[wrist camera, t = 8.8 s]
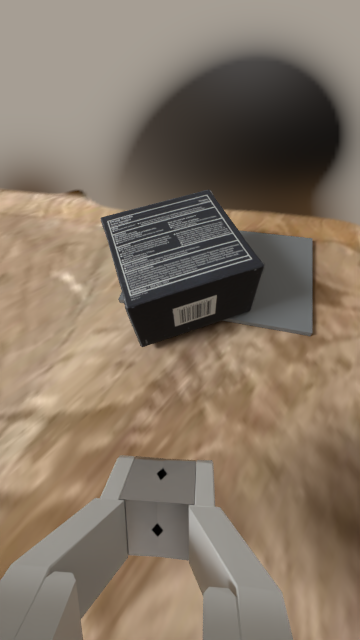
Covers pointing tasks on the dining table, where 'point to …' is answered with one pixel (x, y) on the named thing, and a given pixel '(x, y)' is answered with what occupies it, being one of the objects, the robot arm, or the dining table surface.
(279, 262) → the slate tile
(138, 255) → the small box
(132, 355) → the dining table surface
